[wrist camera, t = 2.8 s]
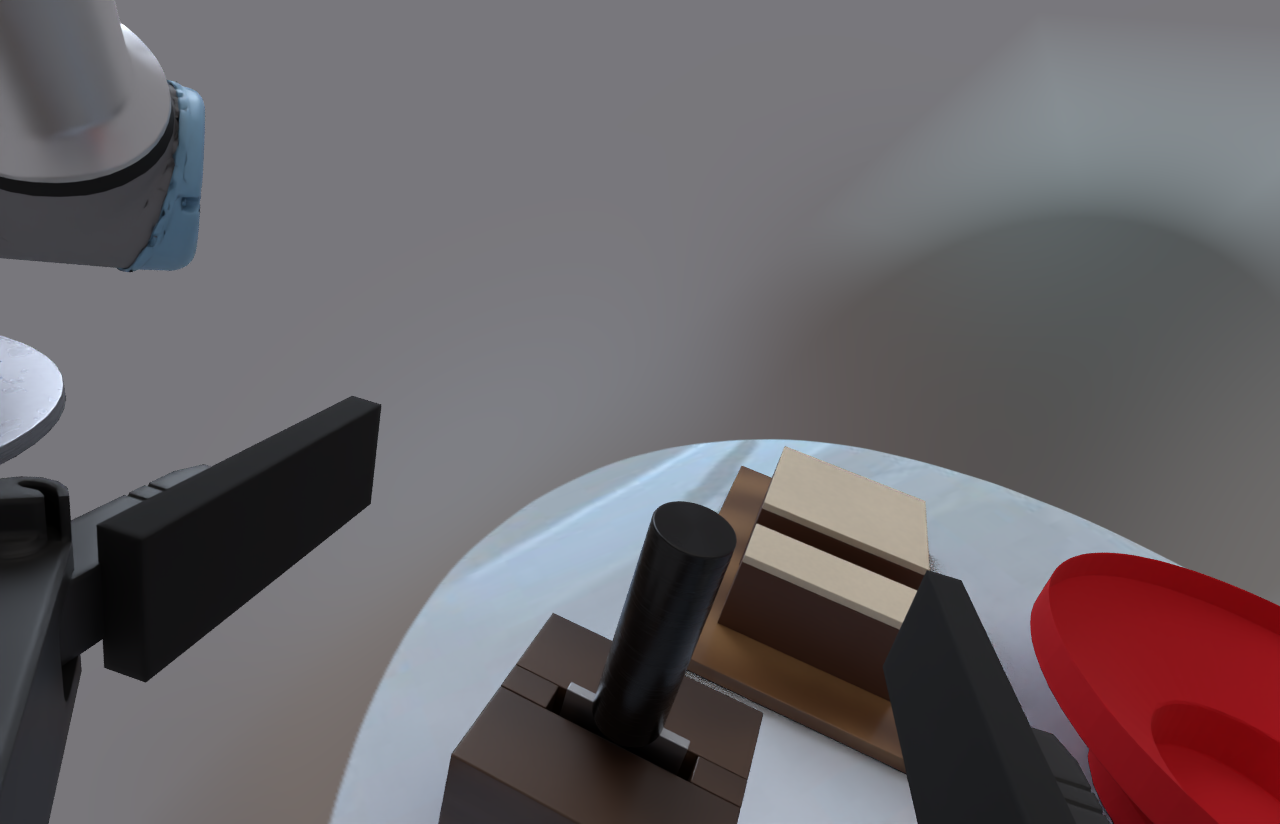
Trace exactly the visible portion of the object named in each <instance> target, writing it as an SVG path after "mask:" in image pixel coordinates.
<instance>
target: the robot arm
mask: <svg viewBox="0 0 1280 824" xmlns="http://www.w3.org/2000/svg"><path fill="white" fill-rule="evenodd" d="M204 134H205V107H204V103H203V99H202V98H201V96H200V95H199V94H198V93H197V92H196V91H194V90H193V89H190V88H186V87H183V86H181V85H180V84H179V83H177V82H173V81H170V80H166V77H165V74H164V71H163V69H162V68H161V66H160V64H159V62H158V60H157V59H156V57H155V56H154V55H153V54H152V52H151V51H150V50H149V48H148V47H147V46H146V45H145V44H144V43H143V42H142V41H141V40H140V39H139V38H138V37H137V36H136V35H135V34H134V33H133V32H131V31H130V30H129V29H128V28H127V27H125V26H124V25H123V24H121V23H120V20H119V15H118V11H117V7H116V3H115V0H0V258H6V259H19V260H30V261H42V262H55V263H66V264H78V265H90V266H103V267H115V268H117V269H118V270H120V271H125V272H133V271H136V270H138V269H142V270H169V271H172V270H177V269H181V268H183V267H185V266H187V265H188V264H189V263H190V262H191V261H192V259H193V258H194V255H195V252H196V247H197V240H198V230H199V229H198V228H199V217H200V216H199V215H200V199H201V187H202V176H203V159H204ZM380 413H381V404H377V403H374V402H371V401H368V400H364V399H361V398H358V397H354V396H351V397H349V398H347V399H345V400H343V401H341V402H339V403H337V404H335V405H333V406H331V407H329V408H327V409H325V410H323V411H321V412H319V413H317V414H315V415H313V416H311V417H309V418H307V419H305V420H303V421H301V422H299V423H297V424H295V425H293V426H291V427H289V428H287V429H285V430H283V431H281V432H279V433H277V434H275V435H273V436H271V437H269V438H267V439H265V440H263V441H262V442H259V443H257V444H255V445H254V446H251V447H250V448H247V449H245V450H243V451H242V452H240V453H238V454H236V455H234V456H232V457H230V458H228V459H226V460H224V461H222V462H220V463H218V464H216V465H214V466H212V467H211V466H208V465H204V464H203V465H199V466H195V467H190V468H186V469H182V470H177V471H173V472H171V473H169V474H167V475H165V476H163V477H161V478H159V479H157V480H155V481H152V482H150V483H149V485H148V486H142V487H140V488H138V489H136V490H134V491H132V492H130V493H129V495H128V496H126V495H123V496H121V497H119V498H117V499H115V500H113V501H111V502H109V503H107V504H105V505H102V506H100V507H98V508H96V509H94V510H92V511H90V512H88V513H86V514H84V515H82V516H80V517H78V518H75V519H74V520H71V516H70V502H69V493H68V488H67V487H66V486H64V485H63V484H61V483H60V482H58V481H54V480H51V479H46V478H42V477H22V476H21V477H11V478H1V479H0V824H48V823H49V818H50V813H51V809H52V804H53V800H54V795H55V790H56V785H57V781H58V777H59V772H60V768H61V763H62V758H63V754H64V749H65V744H66V740H67V735H68V730H69V725H70V721H71V717H72V712H73V708H74V703H75V698H76V693H77V689H78V684H79V680H80V675H81V657H80V654H81V653H83V652H84V651H86V650H87V649H89V648H90V647H91V646H93V645H95V644H96V643H97V642H99V641H100V640H102V639H103V652H104V667H105V668H107V669H109V670H112V671H115V672H118V673H121V674H123V675H126V676H129V677H132V678H135V679H138V680H140V681H143V682H147V681H148V680H149V679H151V678H152V677H153V676H155V675H156V674H157V673H158V672H160V671H161V670H162V669H163V668H165V667H166V666H167V665H168V664H170V663H171V662H172V661H173V660H175V659H176V658H177V657H178V656H180V655H181V654H182V653H184V652H185V651H186V650H187V649H189V648H190V647H191V646H192V645H194V644H195V643H196V642H197V641H199V640H200V639H201V638H202V637H204V636H205V635H206V634H207V633H209V632H210V631H211V630H212V629H214V628H215V627H216V626H218V625H219V624H220V623H221V622H223V621H224V620H225V619H226V618H227V617H229V616H230V615H231V614H233V613H234V612H235V611H236V610H238V609H239V608H240V607H241V606H243V605H244V604H245V603H246V602H248V601H249V600H250V599H251V598H253V597H254V596H255V595H256V594H258V593H259V592H260V591H261V590H263V589H264V588H265V587H266V586H268V585H269V584H270V583H271V582H273V581H274V580H275V579H277V578H278V577H279V576H280V575H282V574H283V573H284V572H285V571H287V570H288V569H289V568H290V567H292V566H293V565H294V564H295V563H297V562H298V561H299V560H300V559H302V558H303V557H304V556H306V555H307V554H308V553H309V552H311V551H312V550H313V549H314V548H316V547H317V546H318V545H319V544H321V543H322V542H323V541H324V540H326V539H327V538H328V537H329V536H331V535H332V534H333V533H335V532H336V531H337V530H338V529H340V528H341V527H342V526H343V525H344V524H346V523H347V522H348V521H349V520H351V519H352V518H353V517H355V516H356V515H357V514H358V513H360V512H361V511H362V510H363V509H365V508H366V507H367V506H368V505H370V504H371V495H372V486H373V477H374V468H375V459H376V449H377V440H378V431H379V421H380ZM883 671H884V676H885V680H886V685H887V689H888V693H889V698H890V702H891V707H892V711H893V716H894V720H895V725H896V729H897V733H898V738H899V742H900V747H901V751H902V756H903V760H904V765H905V769H906V773H907V778H908V782H909V787H910V791H911V796H912V800H913V805H914V809H915V813H916V818H917V822H918V824H1110V823H1109V821H1108V819H1107V817H1106V816H1105V815H1102V811H1103V810H1102V808H1101V806H1100V804H1099V802H1098V800H1097V798H1096V796H1095V794H1094V793H1091V787H1090V785H1089V783H1088V781H1087V779H1086V777H1085V775H1084V774H1083V772H1082V770H1081V768H1080V766H1079V764H1078V762H1077V761H1076V760H1075V758H1074V757H1073V756H1072V755H1071V754H1070V753H1069V752H1068V751H1067V749H1066V748H1065V747H1064V746H1063V745H1062V744H1061V743H1060V742H1059V740H1058V739H1057V738H1056V737H1055V736H1054V735H1053V734H1050V733H1047V732H1044V731H1041V730H1038V729H1035V728H1032V727H1030V725H1029V722H1028V720H1027V718H1026V716H1025V714H1024V712H1023V710H1022V708H1021V705H1020V703H1019V701H1018V699H1017V697H1016V695H1015V693H1014V691H1013V689H1012V686H1011V684H1010V682H1009V680H1008V678H1007V676H1006V674H1005V672H1004V670H1003V667H1002V665H1001V663H1000V661H999V659H998V657H997V655H996V653H995V650H994V648H993V646H992V644H991V642H990V640H989V638H988V636H987V634H986V631H985V629H984V627H983V625H982V623H981V621H980V619H979V617H978V614H977V612H976V610H975V608H974V606H973V604H972V602H971V600H970V598H969V595H968V593H967V591H966V589H965V587H964V585H963V583H962V581H961V580H958V579H955V578H952V577H948V576H945V575H942V574H938V573H935V572H932V571H929V570H927V571H926V573H925V575H924V577H923V579H922V582H921V584H920V586H919V588H918V590H917V593H916V595H915V597H914V599H913V601H912V603H911V606H910V608H909V610H908V612H907V614H906V617H905V619H904V621H903V623H902V625H901V627H900V630H899V632H898V634H897V636H896V638H895V641H894V643H893V645H892V647H891V649H890V651H889V654H888V656H887V658H886V660H885V662H884V665H883Z"/></svg>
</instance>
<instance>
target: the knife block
mask: <svg viewBox="0 0 1280 824" xmlns="http://www.w3.org/2000/svg"><path fill="white" fill-rule="evenodd" d="M611 644H612V641H611V640H609V639H607V638H605V637H603V636H601V635H598V634H596V633H594V632H592V631H590V630H588V629H586V628H584V627H582V626H580V625H577V624H575V623H573V622H571V621H569V620H567V619H565V618H563V617H561V616H559V615H556V614H554V613H553V614H552V615H551V617H550V618H549V619H548V621H547V622H546V623H545V625H544V626H543V628H542V629H541V630H540V632H539V633H538V635H537V636H536V637H535V639H534V640H533V641H532V643H531V644H530V646H529V647H528V648H527V650H526V651H525V653H524V654H523V655H522V657H521V658H520V660H519V661H518V662H517V664H516V665H515V667H514V668H513V669H512V671H511V672H510V673H509V675H508V676H507V678H506V679H505V680H504V682H503V683H502V685H501V687H500V688H499V689H498V690H497V692H496V693H495V695H494V696H493V697H492V699H491V700H490V701H489V703H488V704H487V706H486V707H485V708H484V710H483V711H482V713H481V714H480V715H479V717H478V718H477V719H476V721H475V722H474V724H473V725H472V726H471V728H470V729H469V731H468V732H467V733H466V735H465V736H464V738H463V739H462V740H461V742H460V743H459V744H458V746H457V747H456V749H455V750H454V751H453V753H452V755H451V760H450V765H449V770H448V775H447V781H446V786H445V791H444V797H443V802H442V807H441V812H440V818H439V823H438V824H737V822H738V817H739V813H740V808H741V805H742V801H743V797H744V793H745V788H746V784H747V780H748V776H749V772H750V767H751V763H752V759H753V755H754V750H755V746H756V742H757V738H758V734H759V729H760V725H761V721H762V717H763V713H762V712H760V711H758V710H756V709H754V708H752V707H750V706H747V705H745V704H743V703H741V702H739V701H737V700H735V699H733V698H731V697H729V696H726V695H724V694H722V693H720V692H718V691H716V690H714V689H712V688H710V687H708V686H705V685H703V684H701V683H699V682H697V681H695V680H693V679H691V678H689V677H687V676H685V675H684V678H683V680H682V683H681V685H680V688H679V690H678V693H677V695H676V698H675V700H674V703H673V705H672V708H671V710H670V713H669V716H668V718H667V721H666V723H665V726H664V728H665V729H667V730H669V731H671V732H673V733H675V734H677V735H679V736H681V737H683V738H685V739H687V740H689V741H690V745H689V747H688V750H687V752H686V755H685V757H684V759H683V762H682V764H681V766H680V769H679V771H678V773H677V775H674V774H672V773H670V772H669V771H667V770H665V769H663V768H661V767H659V766H657V765H655V764H653V763H651V762H649V761H647V760H645V759H643V758H641V757H639V756H637V755H635V754H633V753H631V752H629V751H627V750H625V749H623V748H621V747H619V746H617V745H616V744H614V743H612V742H610V741H608V740H606V739H604V738H602V737H600V736H598V735H596V734H594V733H592V732H590V731H588V730H586V729H584V728H582V727H580V726H578V725H576V724H574V723H572V722H570V721H568V720H566V719H564V718H563V717H561V716H559V715H560V712H561V709H562V705H563V702H564V698H565V695H566V691H567V688H568V687H569V685H570V683H571V682H572V683H575V684H577V685H579V686H581V687H583V688H585V689H587V690H589V691H591V692H593V693H595V694H596V691H597V688H598V685H599V682H600V679H601V676H602V672H603V669H604V666H605V663H606V660H607V657H608V654H609V651H610V647H611Z"/></svg>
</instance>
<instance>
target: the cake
mask: <svg viewBox="0 0 1280 824" xmlns="http://www.w3.org/2000/svg"><path fill="white" fill-rule="evenodd" d="M756 524H759V525H762V526H764V527H766V528H769V529H771V530H774V531H776V532H778V533H781V534H783V535H786V536H788V537H790V538H793V539H795V540H797V541H800V542H802V543H805V544H807V545H809V546H812V547H814V548H817V549H819V550H821V551H824V552H826V553H828V554H831V555H833V556H836V557H838V558H840V559H843V560H845V561H848V562H850V563H852V564H855V565H857V566H860V567H862V568H864V569H867V570H869V571H871V572H874V573H876V574H879V575H881V576H883V577H886V578H888V579H891V580H893V581H895V582H898V583H900V584H903V585H905V586H907V587H910V588H912V589H914V590H918V588H919V586H920V584H921V582H922V579H923V577H924V575H925V573H926V571H927V570H930V568H929V553H928V537H927V521H926V505H925V501H924V500H921V499H919V498H916V497H913V496H911V495H908V494H906V493H903V492H901V491H898V490H896V489H893V488H890V487H888V486H885V485H883V484H880V483H878V482H875V481H873V480H870V479H867V478H865V477H862V476H860V475H857V474H855V473H852V472H850V471H847V470H844V469H842V468H839V467H837V466H834V465H832V464H829V463H827V462H824V461H821V460H819V459H816V458H814V457H811V456H809V455H806V454H804V453H801V452H798V451H796V450H793V449H791V448H788V447H786V446H785V447H784V450H783V452H782V454H781V457H780V459H779V462H778V464H777V467H776V469H775V472H774V474H773V477H772V479H771V482H770V484H769V486H768V489H767V491H766V494H765V496H764V499H763V501H762V504H761V507H760V509H759V512H758V515H757V517H756V520H755V523H754V525H753V528H752V531H751V533H750V536H749V539H748V541H747V544H746V547H745V549H744V552H743V555H744V553H745V550H746V548H747V545H748V543H749V541H750V538H751V536H752V533H753V531H754V528H755V526H756ZM743 555H742V557H741V560H742V558H743ZM741 560H740V563H741ZM740 563H739V565H740Z"/></svg>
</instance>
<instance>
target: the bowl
mask: <svg viewBox="0 0 1280 824" xmlns="http://www.w3.org/2000/svg"><path fill="white" fill-rule="evenodd" d="M1030 625H1031V637H1032V643H1033V647H1034V651H1035V654H1036V657H1037V659H1038V662H1039V665H1040V668H1041V670H1042V672H1043V674H1044V677H1045V679H1046V681H1047V683H1048V686H1049V688H1050V689H1051V691H1052V693H1053V695H1054V697H1055V698H1056V700H1057V702H1058V704H1059V705H1060V707H1061V709H1062V710H1063V712H1064V713H1065V715H1066V716H1067V718H1068V719H1069V721H1070V722H1071V724H1072V725H1073V727H1074V728H1075V730H1076V731H1077V733H1078V734H1079V736H1080V737H1081V739H1082V740H1083V741H1084V743H1085V744H1086V745H1087V747H1088V748H1089V753H1088V762H1089V767H1090V771H1091V776H1092V780H1093V784H1094V787H1095V789H1096V791H1097V794H1098V796H1099V798H1100V800H1101V802H1102V804H1103V806H1104V808H1105V809H1106V811H1107V813H1108V814H1109V816H1110V818H1111V819H1112V821H1113V823H1114V824H1280V606H1278V605H1276V604H1274V603H1272V602H1270V601H1268V600H1265V599H1263V598H1261V597H1259V596H1256V595H1254V594H1252V593H1250V592H1247V591H1245V590H1243V589H1240V588H1238V587H1235V586H1233V585H1230V584H1228V583H1225V582H1223V581H1220V580H1217V579H1215V578H1212V577H1210V576H1206V575H1204V574H1201V573H1198V572H1196V571H1193V570H1189V569H1186V568H1183V567H1179V566H1176V565H1173V564H1169V563H1166V562H1162V561H1158V560H1154V559H1149V558H1144V557H1139V556H1134V555H1128V554H1119V553H1088V554H1082V555H1079V556H1075V557H1073V558H1070V559H1068V560H1066V561H1065V562H1063V563H1062V564H1061V565H1059V566H1058V567H1057V568H1056V570H1055V571H1054V573H1053V574H1052V576H1051V577H1050V579H1049V580H1048V582H1047V584H1046V585H1045V587H1044V588H1043V590H1042V591H1041V593H1040V595H1039V596H1038V598H1037V600H1036V601H1035V603H1034V606H1033V609H1032V612H1031V621H1030Z"/></svg>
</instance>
